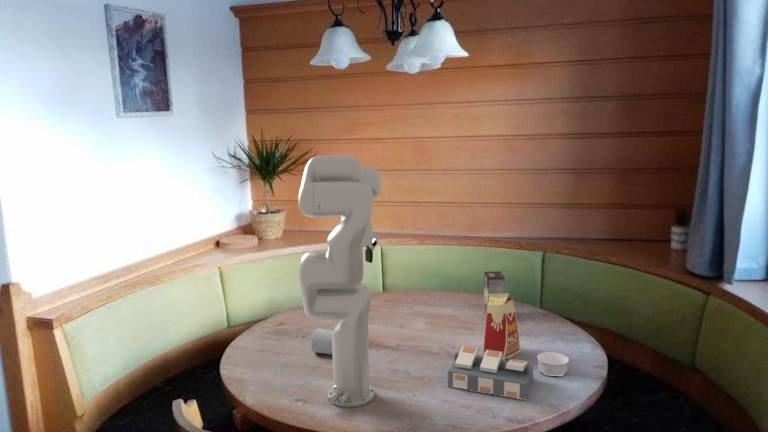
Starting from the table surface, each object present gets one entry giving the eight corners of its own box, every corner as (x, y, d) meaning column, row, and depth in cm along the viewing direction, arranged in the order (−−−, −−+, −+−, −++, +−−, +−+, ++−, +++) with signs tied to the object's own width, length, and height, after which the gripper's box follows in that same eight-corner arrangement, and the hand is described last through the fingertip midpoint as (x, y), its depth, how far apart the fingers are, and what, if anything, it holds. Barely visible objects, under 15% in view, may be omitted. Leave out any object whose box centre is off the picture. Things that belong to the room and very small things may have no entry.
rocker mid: (496, 373, 155) (496, 369, 155) (480, 370, 157) (479, 366, 157) (502, 355, 162) (502, 351, 162) (486, 353, 164) (486, 348, 163)
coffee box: (483, 312, 218) (483, 271, 215) (499, 311, 218) (500, 270, 215) (487, 320, 209) (487, 278, 206) (504, 320, 209) (505, 277, 206)
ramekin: (533, 365, 172) (534, 351, 171) (563, 365, 172) (564, 351, 171) (540, 378, 163) (541, 364, 162) (572, 378, 163) (573, 364, 162)
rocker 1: (471, 369, 158) (470, 364, 158) (455, 366, 160) (454, 362, 159) (477, 351, 165) (477, 347, 164) (462, 349, 167) (462, 345, 166)
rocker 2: (522, 371, 152) (523, 365, 152) (505, 368, 154) (505, 363, 154) (527, 366, 159) (527, 361, 160) (510, 363, 161) (511, 358, 161)
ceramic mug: (335, 359, 178) (334, 335, 177) (311, 356, 180) (310, 332, 179) (348, 346, 188) (347, 324, 187) (325, 343, 190) (324, 321, 189)
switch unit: (524, 401, 150) (525, 375, 149) (447, 387, 158) (447, 363, 157) (532, 379, 162) (533, 355, 161) (460, 367, 170) (460, 345, 169)
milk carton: (520, 351, 181) (522, 290, 178) (504, 361, 175) (506, 298, 171) (495, 344, 188) (496, 285, 184) (479, 353, 181) (480, 292, 178)
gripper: (336, 215, 172) (338, 270, 175) (384, 209, 182) (385, 262, 185) (324, 212, 178) (326, 266, 181) (371, 207, 188) (372, 258, 191)
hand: (356, 264), depth 183 cm, fingers open, 9 cm apart
